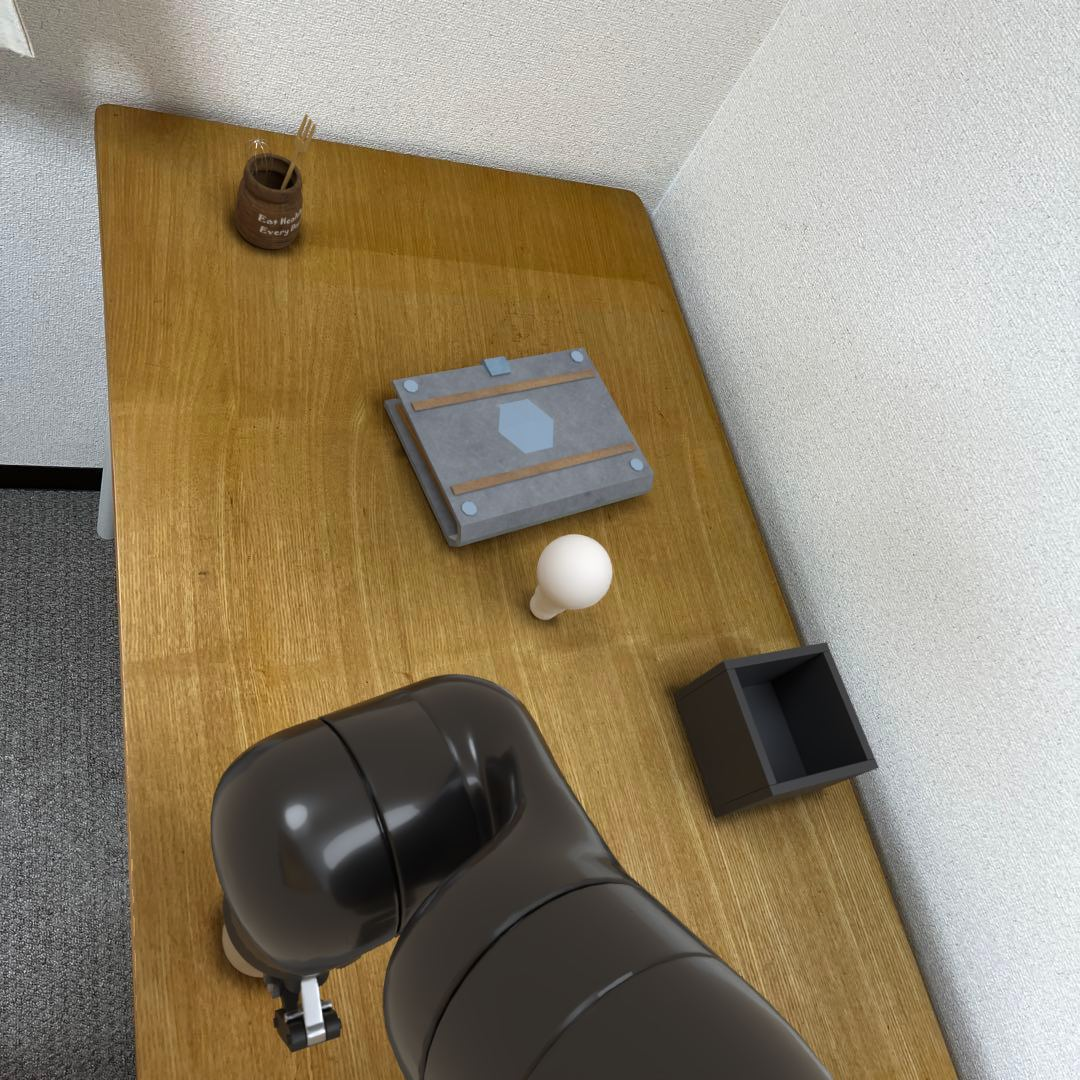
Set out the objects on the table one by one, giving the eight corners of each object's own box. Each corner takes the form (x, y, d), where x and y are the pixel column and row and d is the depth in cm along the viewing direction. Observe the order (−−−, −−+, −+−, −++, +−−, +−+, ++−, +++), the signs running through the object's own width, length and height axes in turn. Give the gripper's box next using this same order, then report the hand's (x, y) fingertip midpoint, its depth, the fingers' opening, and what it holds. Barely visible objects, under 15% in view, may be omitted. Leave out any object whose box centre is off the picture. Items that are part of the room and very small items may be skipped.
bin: (815, 791, 81) (879, 767, 74) (715, 818, 76) (773, 795, 69) (770, 674, 85) (826, 641, 78) (673, 693, 80) (723, 660, 73)
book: (451, 556, 78) (468, 530, 74) (380, 403, 83) (392, 370, 79) (639, 502, 89) (662, 476, 85) (566, 369, 94) (585, 338, 90)
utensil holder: (221, 215, 87) (230, 110, 77) (276, 199, 90) (291, 96, 80) (257, 259, 86) (270, 158, 76) (312, 240, 89) (331, 142, 79)
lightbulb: (541, 567, 81) (590, 508, 72) (585, 619, 80) (639, 566, 71) (493, 600, 78) (537, 543, 69) (537, 655, 77) (588, 605, 68)
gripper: (208, 748, 43) (195, 820, 57) (252, 1085, 37) (226, 1073, 51) (363, 721, 46) (315, 795, 60) (424, 1028, 41) (355, 1031, 54)
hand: (274, 923), depth 55 cm, fingers closed on candle, 5 cm apart
